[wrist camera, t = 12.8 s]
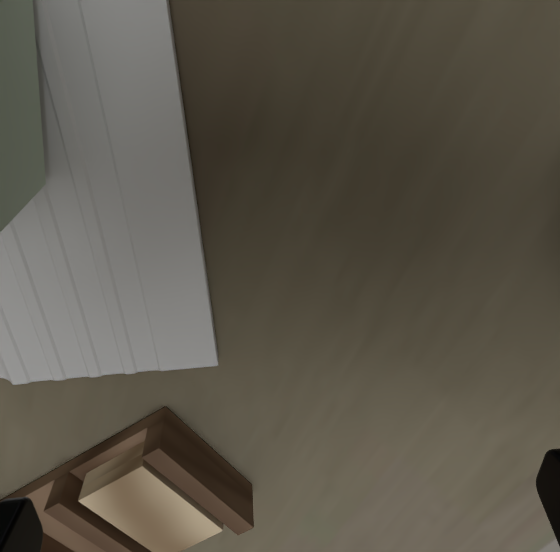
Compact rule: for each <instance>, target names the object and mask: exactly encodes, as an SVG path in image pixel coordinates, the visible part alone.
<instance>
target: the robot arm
mask: <svg viewBox="0 0 560 552" xmlns="http://www.w3.org/2000/svg"><path fill="white" fill-rule="evenodd" d="M536 487H537V491H538V494H539V497H540V499H541V502H542V504H543V507H544V509H545V512H546V514H547V517H548V519H549V521H550V524H551V526H552V529H553V531H554V534H555V536H556V539H557V541H558V544H559V546H560V449H551V450H549V451H547V452H546V454H545V456H544V459H543V462H542V464H541V467H540V470H539V472H538V475H537V478H536ZM42 541H43V527H42V524H41V521H40V519H39V517H38V514H37V512H36V509H35V507H34V504H33V502H32V500H31V499H30V498H28V497H18V498H8V499H4V500H3V501H1V502H0V552H41V547H42Z"/></svg>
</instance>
